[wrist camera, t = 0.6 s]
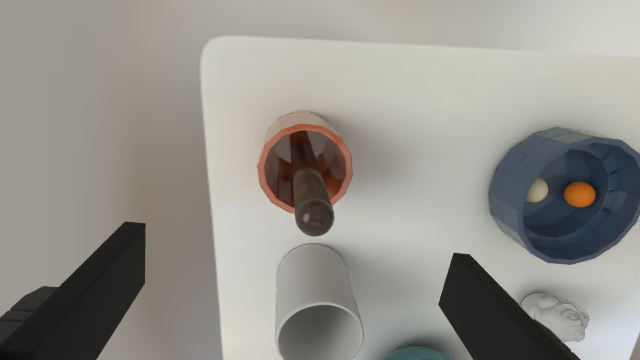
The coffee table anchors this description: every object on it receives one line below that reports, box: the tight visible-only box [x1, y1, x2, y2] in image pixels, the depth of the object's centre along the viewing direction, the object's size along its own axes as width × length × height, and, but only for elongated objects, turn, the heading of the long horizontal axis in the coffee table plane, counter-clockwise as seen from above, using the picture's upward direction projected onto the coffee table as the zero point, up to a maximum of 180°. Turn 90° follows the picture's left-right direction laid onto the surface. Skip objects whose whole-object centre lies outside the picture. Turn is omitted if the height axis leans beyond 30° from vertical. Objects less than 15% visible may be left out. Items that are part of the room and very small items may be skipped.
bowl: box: [489, 127, 640, 265], centre depth 40 cm, size 14×14×6 cm
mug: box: [275, 244, 364, 360], centre depth 39 cm, size 12×8×11 cm
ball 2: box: [564, 182, 596, 207], centre depth 41 cm, size 3×3×3 cm
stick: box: [291, 142, 334, 236], centre depth 29 cm, size 2×2×18 cm
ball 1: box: [526, 177, 548, 203], centre depth 40 cm, size 3×3×3 cm
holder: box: [257, 112, 352, 213], centre depth 35 cm, size 8×8×8 cm
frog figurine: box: [520, 293, 589, 342], centre depth 45 cm, size 6×7×7 cm
